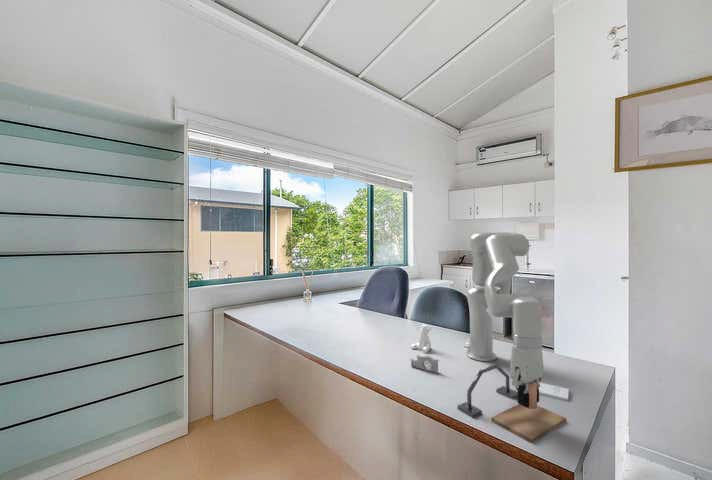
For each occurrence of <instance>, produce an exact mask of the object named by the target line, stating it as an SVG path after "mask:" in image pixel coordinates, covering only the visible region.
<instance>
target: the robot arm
mask: <svg viewBox="0 0 712 480" xmlns="http://www.w3.org/2000/svg"><path fill="white" fill-rule="evenodd" d="M469 246H470V249H471V253H472V256H473V259H472V260H473V261H472V273H471V275H472V277H471V279H472V283H473V284H474V287H471V288H470V289H468V291H467V294H466V295H467V303H468V308H469V310H468V311H469V341H465V343H464V347H465V348H467V352H466V355H467V357H468V358H470V359H472V360H475V361H478V362H493V361H495V360H497V357H498V356H497V354H496V352H494V350H493V349H494V348H493V347H494V345H493V343H494V342H493V317H495V318H512V346H511V352H510V353H511V354H510V363H509V365H510V367H509V369H510V370H509V378H511V379H512V382H511V385H512V386H514V388H515V389H516V390H515V391H516V392H517V396H518V397H517V405H518V404H520V405H523V406H525V407H527V408H528V407H529V393H528V384H529V383H530V382H532V381H534V380H535V381H536V382H537V403H539V402H540V394H539V389H538V388H540V383H541V381H542V377H543V376H544V357H543V354H544V353H543V350H542V349H543V327H542V326H543V324H542V323H543V322H542V321H543V320H542V319H543V317H542V310H543V309H542V303H541V302H540V301H539V300H538V299H535V298H534V296H533V295H531V294H529V293H511V288H512V287H511V286H512V277H513V276H515V275H516V274H517V273H518V271H519V264H518V261H517V258H516V257H525V256H526V255H527V254H528V252H529V250H530V245H529V241H528V239H527V237H526V236H525V235H524V234H522V233H519V232H518V233H517V232H477V233H473V234H472V235H471V236H470V240H469ZM487 309H488V311H489V312H488V311H487ZM490 314H491V315H492V316H493V317H492V316H491V315H490ZM521 378H522V379H523V380H521ZM521 383H523V384H524V387H523V386H522V385H521Z"/></svg>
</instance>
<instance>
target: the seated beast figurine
mask: <svg viewBox="0 0 712 480" xmlns="http://www.w3.org/2000/svg"><path fill="white" fill-rule="evenodd" d="M431 330H432V327H431V328H430V327H429V326H428V325H426V324H421V325H420V328H419V333H420V334H419V335H418V342H416V343H413V344H411V345H410V349H411V350H417V349H418V351H421V352H423V353H424V354H428V353H429V351H430V349H431V347H432V343H431V341H430V339H429V338H430V336H429V335H428V334H429V333H430V331H431ZM427 352H428V353H427Z"/></svg>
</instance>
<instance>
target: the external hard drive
mask: <svg viewBox="0 0 712 480" xmlns="http://www.w3.org/2000/svg"><path fill="white" fill-rule="evenodd" d="M538 389H539V396H540V395H541V396H544V397H548V398H553V399H558V400H562V401H566V402H569V396H570V395H569V393H570V390H569V389H570V388H565V387H562V386H557V385H553V384H548V383H543V382H540V388H538Z"/></svg>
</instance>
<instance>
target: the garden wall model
mask: <svg viewBox="0 0 712 480" xmlns="http://www.w3.org/2000/svg"><path fill="white" fill-rule="evenodd" d="M439 362H440V359H435V358H433V357H432V356H429V355H424V356H423V355H422V356H421V355H418V354H416V359H414V358H411V359H410V364H411V365H410V366H411V367H413V368H416V369H421V370H424V371H427V372H433V373H439Z"/></svg>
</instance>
